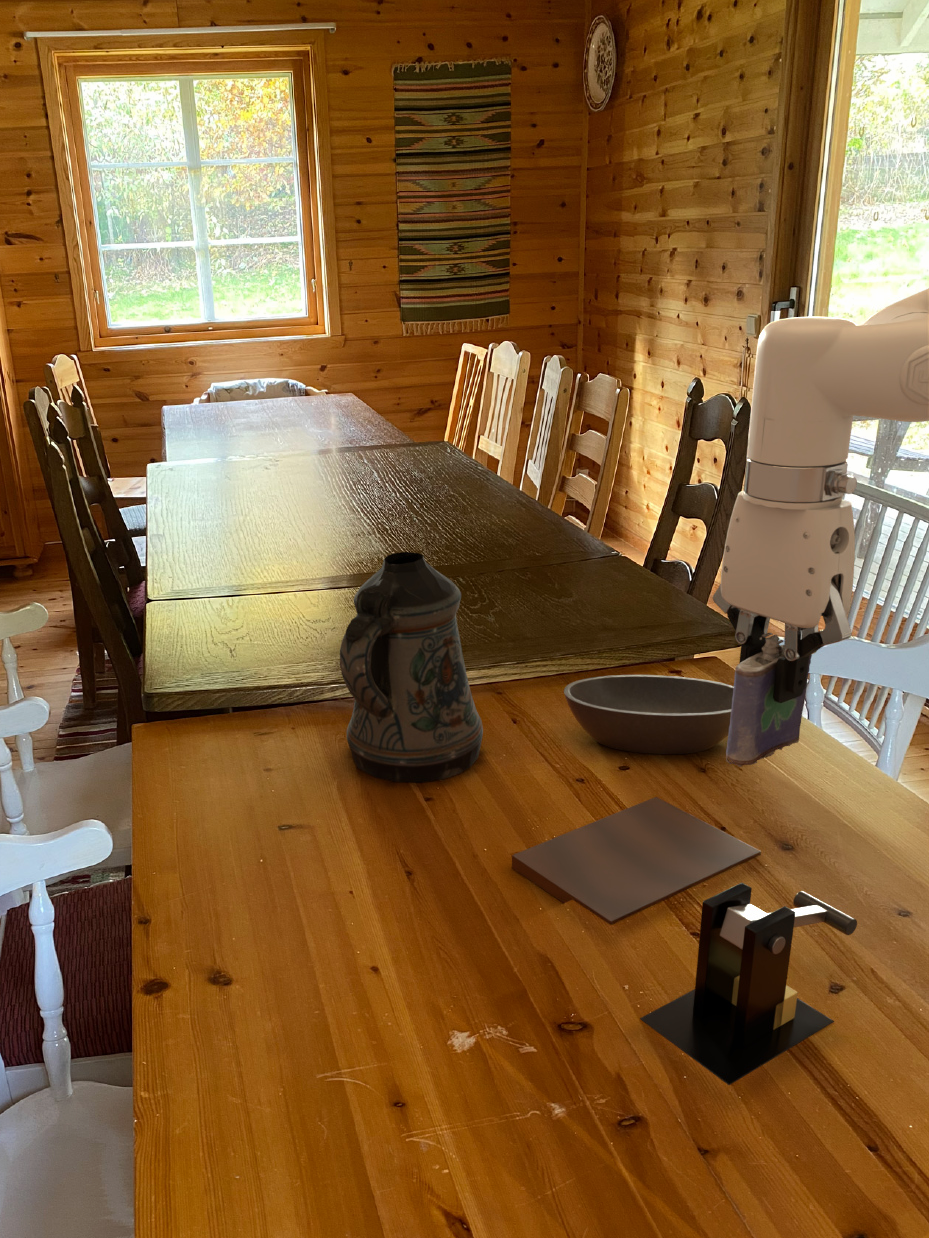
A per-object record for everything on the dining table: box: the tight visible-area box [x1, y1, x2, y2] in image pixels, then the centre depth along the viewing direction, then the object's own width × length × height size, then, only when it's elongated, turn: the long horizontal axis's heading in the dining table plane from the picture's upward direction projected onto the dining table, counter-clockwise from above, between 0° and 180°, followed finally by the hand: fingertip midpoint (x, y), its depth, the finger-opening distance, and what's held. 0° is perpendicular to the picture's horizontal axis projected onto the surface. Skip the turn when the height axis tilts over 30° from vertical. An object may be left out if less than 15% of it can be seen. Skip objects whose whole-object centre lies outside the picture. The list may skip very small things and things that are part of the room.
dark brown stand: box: [639, 882, 835, 1086], centre depth 85 cm, size 12×9×12 cm
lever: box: [720, 890, 858, 949], centre depth 86 cm, size 12×5×2 cm, turn 123°
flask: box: [725, 632, 813, 768], centre depth 96 cm, size 9×3×11 cm, turn 127°
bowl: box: [563, 674, 734, 755], centre depth 134 cm, size 12×22×6 cm, turn 78°
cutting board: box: [511, 796, 762, 926], centre depth 109 cm, size 20×14×2 cm
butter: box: [732, 975, 799, 1030], centre depth 87 cm, size 3×5×2 cm, turn 32°
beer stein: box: [339, 551, 484, 784], centre depth 129 cm, size 16×19×25 cm
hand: (770, 689), depth 95 cm, fingers closed on flask, 3 cm apart
